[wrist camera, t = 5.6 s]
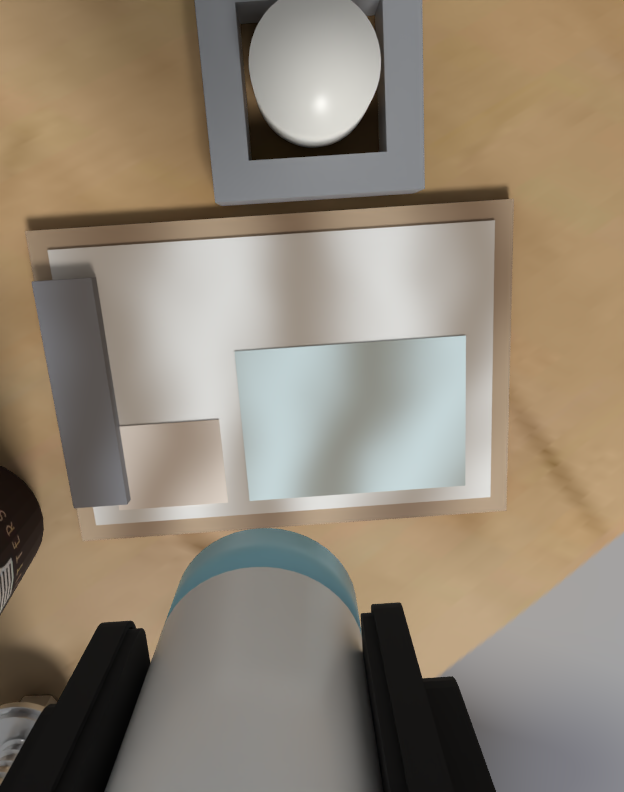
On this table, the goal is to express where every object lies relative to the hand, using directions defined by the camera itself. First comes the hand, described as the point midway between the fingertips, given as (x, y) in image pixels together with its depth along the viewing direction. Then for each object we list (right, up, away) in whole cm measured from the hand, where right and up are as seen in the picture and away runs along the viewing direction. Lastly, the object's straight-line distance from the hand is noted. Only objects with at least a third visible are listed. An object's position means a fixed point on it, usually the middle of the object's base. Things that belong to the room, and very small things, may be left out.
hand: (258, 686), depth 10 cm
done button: (+1, +17, +11) cm, 20 cm away
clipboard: (0, +6, +15) cm, 16 cm away
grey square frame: (+1, +17, +12) cm, 21 cm away
